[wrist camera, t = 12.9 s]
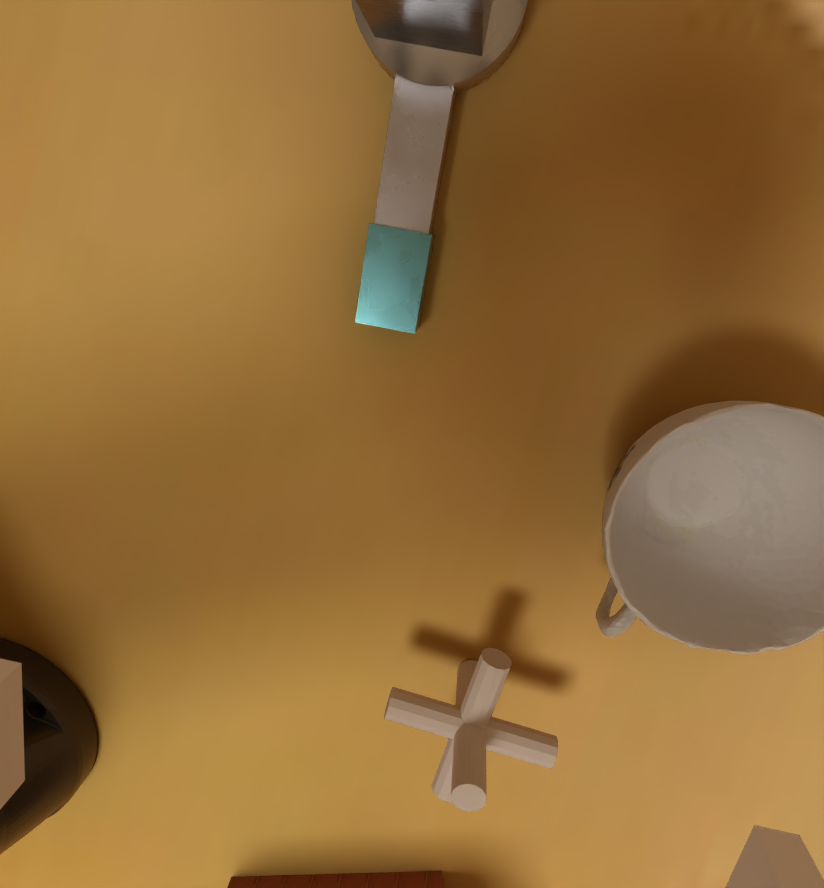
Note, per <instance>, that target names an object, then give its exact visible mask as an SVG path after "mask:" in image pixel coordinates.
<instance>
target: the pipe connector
mask: <svg viewBox="0 0 824 888" xmlns="http://www.w3.org/2000/svg"><path fill="white" fill-rule="evenodd" d="M511 665H512V662H511V659H510V657H509V656H508V655H506V654H505V653H504V652H502V651H500V650H498V649H496V648H486V649H483V650H482V652H481V655H480V657H479V660H478V662H477V661H474V660H467V661H464V662H462V663H461V664H460V665H459V667H458V672H457V690H456V706H455V705H451V704H448V703H445V702H441V701H438V700H435V699H431V698H428V697H425V696H422V695H418V694H415V693H412V692H408V691H405V690H402V689H398V688H395V687H392V689H391V692H390V696H389V699H388V703H387V706H386V710H385V715H384V719H387V720H390V721H394V722H397V723H400V724H404V725H407V726H410V727H414V728H417V729H420V730H423V731H427V732H430V733H433V734H437V735H440V736H443V737H447V738H449V740H448V743H447V746H446V748H445V751H444V754H443V756H442V759H441V762H440V764H439V767H438V770H437V772H436V775H435V778H434V780H433V783H432V789H433V792H434V793H435V795H436V796H437V797H438V798H439V799H441V800H443V801H445V802H452V803H453V804H454V805H455V806H456V807H457V808H458V809H460V810H462V811H466V812H474V811H478V810H480V809H481V808H482V807H484V805H485V804H486V750H490V751H493V752H496V753H500V754H503V755H506V756H510V757H513V758H516V759H519V760H523V761H526V762H529V763H533V764H536V765H539V766H543V767H546V768H550V769H551V768H552V767H553V765H554V763H555V760H556V757H557V751H558V740H557V737H556V736H554V735H551V734H548V733H544V732H541V731H538V730H534V729H531V728H528V727H524V726H521V725H518V724H514V723H511V722H508V721H504V720H501V719H498V718H495V717H491V715H492V713H493V710H494V708H495V705H496V703H497V700H498V697H499V695H500V692H501V690H502V687H503V685H504V682H505V680H506V677H507V675H508V672H509V670H510V667H511Z"/></svg>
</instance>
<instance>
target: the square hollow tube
mask: <svg viewBox="0 0 824 888" xmlns="http://www.w3.org/2000/svg"><path fill="white" fill-rule="evenodd" d="M356 2H357V4H358V6H359V8H360V10H361V12H362V14H363V16H364V18H365V20H366V21H367V23H368V25H369V27H370V29H371V31H372V33H373V35H374V37H376V38H382V39H387V40H393V41H399V42H404V43H410V44H416V45H421V46H427V47H432V48H438V49H444V50H449V51H455V52H461V53H466V54H472V55H478V56H482V55H483V50H484V45H485V39H486V34H487V29H488V24H489V18H490V13H491V8H492V2H493V0H356Z"/></svg>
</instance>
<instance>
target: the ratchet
mask: <svg viewBox="0 0 824 888" xmlns="http://www.w3.org/2000/svg"><path fill="white" fill-rule="evenodd" d="M527 2H528V0H493V2H492V8H491V13H490V18H489V24H488V29H487V34H486V39H485V45H484V50H483V55H482V56H478V55H472V54H466V53H461V52H455V51H449V50H444V49H438V48H432V47H427V46H421V45H416V44H410V43H404V42H399V41H393V40H387V39H382V38H376V37H374V35H373V33H372V31H371V29H370V27H369V25H368V23H367V21H366V20H365V18H364V16H363V14H362V12H361V10H360V8H359V6H358V4H357V2H356V0H352V6H353V10H354V14H355V18H356V21H357V24H358V26H359V29H360V31H361V33H362V35H363V37H364V39H365V41H366V42H367V44H368V46H369V48H370V49H371V51H372V53H373V55H374V56H375V58H376V60H377V61H378V62H379V64H380V65H381V66H382V68H383V69H384V70H385V71H386V72H387V73H388V74H389V75H390V76H391V77H392V78H394V79H395V83H394V90H393V97H392V104H391V111H390V117H389V124H388V131H387V138H386V145H385V152H384V158H383V165H382V172H381V179H380V186H379V192H378V199H377V206H376V213H375V220H374V224H371V223H369V229H368V236H367V243H366V250H365V257H364V264H363V271H362V277H361V284H360V291H359V298H358V305H357V312H356V319H355V322H356V323H361V324H366V325H372V326H377V327H382V328H387V329H392V330H398V331H403V332H408V333H413V334H415V332H416V331H417V330H418V328H419V323H420V317H421V311H422V306H423V300H424V294H425V289H426V283H427V277H428V272H429V266H430V260H431V255H432V249H433V243H434V238H435V235H432V234H431V233H432V228H433V222H434V216H435V210H436V205H437V199H438V193H439V188H440V182H441V176H442V170H443V165H444V159H445V153H446V148H447V142H448V136H449V131H450V125H451V119H452V113H453V108H454V102H455V96H456V93H460V92H463V91H466V90H469V89H471V88H473V87H475V86H477V85H479V84H480V83H482V82H483V81H485V80H486V79H487V78H489V77H490V76H491V75H492V74H493V73H494V72H495V71H496V70H497V69H498V68H499V67H500V66H501V65H502V64H503V62H504V61H505V60H506V58H507V57H508V55H509V54H510V52H511V51H512V49H513V47H514V45H515V43H516V41H517V39H518V36H519V34H520V31H521V29H522V25H523V21H524V17H525V12H526V7H527Z"/></svg>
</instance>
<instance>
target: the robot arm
mask: <svg viewBox="0 0 824 888" xmlns="http://www.w3.org/2000/svg"><path fill="white" fill-rule="evenodd" d="M96 753H97V733H96V728H95V724H94V720H93V717H92V715H91V712H90V710H89V708H88V706H87V704H86V702H85V700H84V699H83V697H82V696H81V694H80V693H79V691H78V690H77V689H76V687H75V686H74V685H73V684H72V683H71V682H70V680H69V679H68V678H67V677H66V676H65V675H64V674H63V673H62V672H61V671H59V670H58V669H57V668H56V667H55V666H53V665H52V664H51V663H49V662H48V661H47V660H45V659H44V658H42V657H41V656H39V655H37V654H36V653H34V652H32V651H30V650H28V649H26V648H24V647H22V646H20V645H17V644H14V643H12V642H9V641H6V640H2V639H0V854H1V853H3V852H4V851H5V850H7V849H8V848H9V847H11V846H12V845H13V844H15V843H16V842H17V841H19V840H20V839H21V838H23V837H24V836H25V835H27V834H28V833H29V832H30V831H32V830H33V829H34V828H36V827H37V826H38V825H39V824H41V823H42V822H43V821H44V820H45V819H47V818H48V817H50V816H52V815H53V814H55V813H56V812H58V811H59V810H60V809H61V808H62V807H63V806H64V805H65V804H66V803H67V802H68V801H69V800H70V799H71V798H72V796H73V795H74V794H75V792H76V791H77V789H78V788H79V787H80V785H81V784H82V783H83V781H84V780H85V779H86V777H87V776H88V774H89V773H90V771H91V769H92V767H93V764H94V762H95V758H96ZM725 888H824V880H823V878H822V876H821V874H820V872H819V870H818V869H817V867H816V865H815V863H814V861H813V859H812V857H811V855H810V854H809V852H808V850H807V848H806V846H805V844H804V842H803V841H802V839H801V837H800V835H797V834H793V833H788V832H783V831H779V830H774V829H770V828H765V827H761V826H756V825H754V827H753V829H752V831H751V833H750V836H749V838H748V840H747V842H746V844H745V846H744V849H743V851H742V853H741V855H740V857H739V859H738V861H737V864H736V866H735V868H734V870H733V872H732V874H731V877H730V879H729V881H728V883H727V885H726V887H725Z"/></svg>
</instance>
